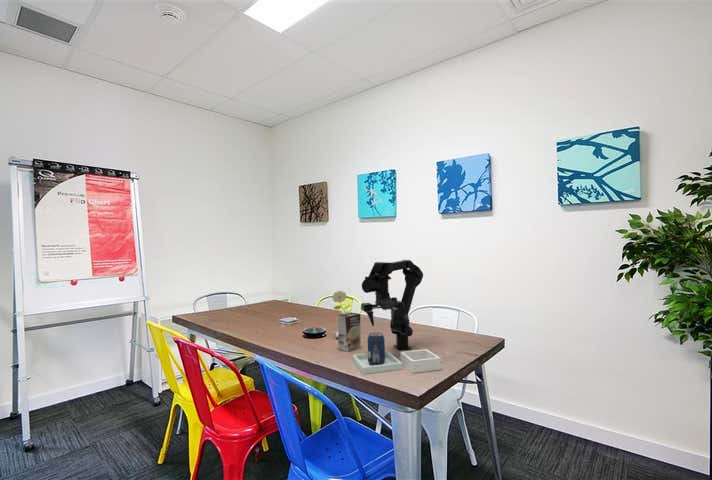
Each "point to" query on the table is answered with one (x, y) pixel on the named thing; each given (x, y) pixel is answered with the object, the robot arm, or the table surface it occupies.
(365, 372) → the tray
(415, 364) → the pale square open box
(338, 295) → the flower in vase
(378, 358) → the soda can
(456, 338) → the table surface
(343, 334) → the coffee box
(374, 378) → the table surface
